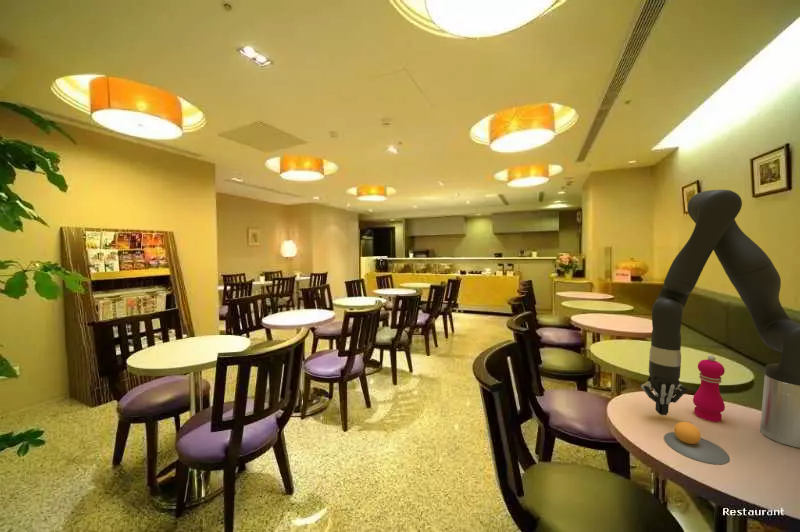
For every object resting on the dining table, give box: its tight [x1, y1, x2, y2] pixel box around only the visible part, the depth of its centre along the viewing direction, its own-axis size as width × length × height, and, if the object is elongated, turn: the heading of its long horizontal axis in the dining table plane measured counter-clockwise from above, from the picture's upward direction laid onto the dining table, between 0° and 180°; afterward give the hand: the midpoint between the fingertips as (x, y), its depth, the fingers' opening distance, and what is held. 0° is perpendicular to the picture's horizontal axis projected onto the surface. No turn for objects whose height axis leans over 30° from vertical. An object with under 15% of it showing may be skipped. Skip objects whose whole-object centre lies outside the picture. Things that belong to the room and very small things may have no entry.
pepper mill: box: [692, 354, 726, 423], centre depth 99 cm, size 7×7×20 cm
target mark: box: [663, 431, 730, 465], centre depth 86 cm, size 13×13×1 cm
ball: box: [673, 421, 702, 444], centre depth 88 cm, size 6×6×6 cm
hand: (661, 413), depth 99 cm, fingers closed
